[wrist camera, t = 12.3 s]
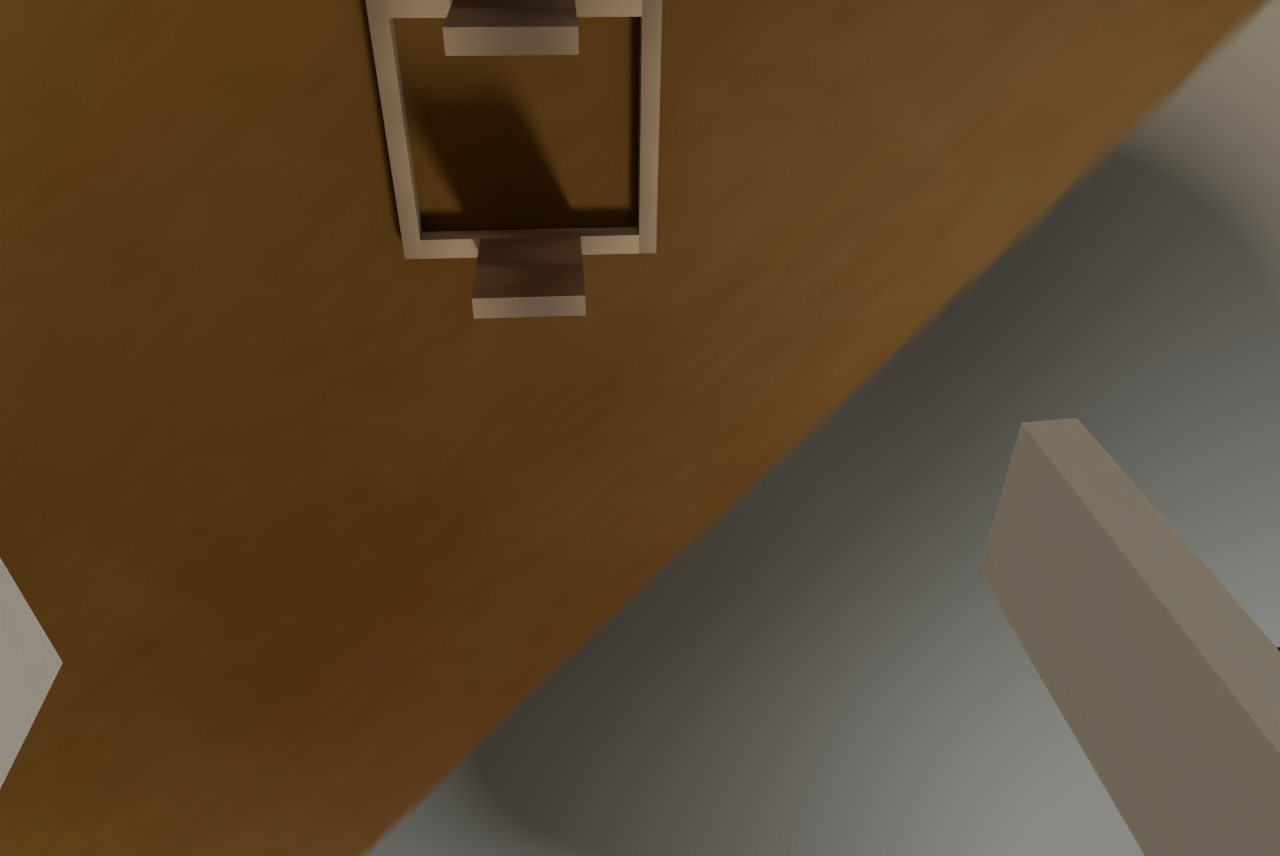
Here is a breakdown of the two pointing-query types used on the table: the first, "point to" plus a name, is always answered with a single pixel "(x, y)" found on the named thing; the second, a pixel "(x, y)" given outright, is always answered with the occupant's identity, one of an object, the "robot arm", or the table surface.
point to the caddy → (528, 258)
